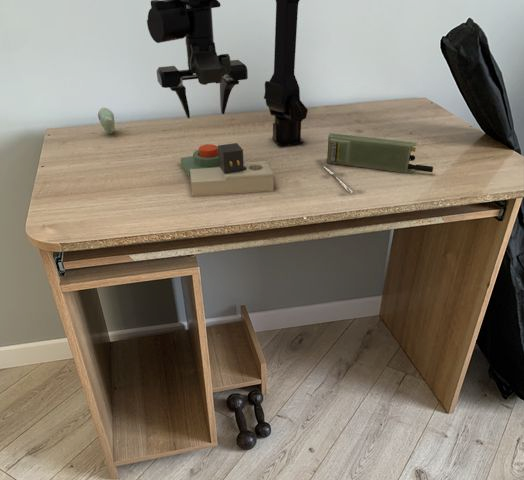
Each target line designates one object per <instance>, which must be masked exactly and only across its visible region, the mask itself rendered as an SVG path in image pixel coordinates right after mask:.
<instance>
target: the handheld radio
mask: <svg viewBox="0 0 524 480" xmlns="http://www.w3.org/2000/svg"><path fill="white" fill-rule="evenodd" d="M327 138H328V139H327V153H326V154H327V155H326V163H327V164H331V165H332V164H333V165H339V166H349V167H355V168H364V169H371V170H380V171H388V172H393V173H394V172H396V173H404V174H411V173H412V172H413V171H417V172H418V171H419V172H426V173H433V171H434V166H432V165H423V164H412V163H410V162H414V161H415V160H416V155H414V154H412V152H413V153H414V152H416V151H417V148H416V146H417V145H418V142H416V141H415V142H414V141H406V140H398V139H390V138H389V139H388V138H378V137H371V136H369V137H368V136H361V135H360V136H359V135H351V134H344V133H343V134H342V133H332V132H330V133H329V134H328V137H327Z"/></svg>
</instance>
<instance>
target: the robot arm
mask: <svg viewBox="0 0 524 480" xmlns="http://www.w3.org/2000/svg"><path fill="white" fill-rule="evenodd" d="M300 1H301V0H275V27H274V29H275V30H274V56H273V57H274V60H273V74H272V76H271V77H270V79H269V80H266V81H264V96H263V99H264V100H265V105H266V107H268V110H269V114H270V116H273V117H274V122H273V123H272V140H273V141H274V142H275V144H277V145H278V146H279V147H286V146H295V145H301V144H304V140H303V139H302V138H301V135H302V122H303V120H306V118H307V115H308V112H309V110H308V108H307V106H306V105H305V104H304V103H303V102H302V101H301V95H300V94H301V93H300V92H301V91H300V86H299V82H298V80H297V78H296V75H295V69H296V67H295V66H296V47H297V32H298V30H297V29H298V13H299V3H300ZM220 7H221V2H220V1H219V0H150V9H149V10H148V13H147V19H146V25H147V29H148V33H149V35H150V37H151V39H152V40H153V41H154V42H155V43H156V44H161V43H166V42H170V41H176V40H183V39H184V40H185V47H186V58H187V68H188V69H178V68H177V67H176V66H175V65H169V66H158V68H157V70H156V78H157V82H158V84H159V85H160V86H161V87H162V88H163V89H167V88H169V90H171V91H172V92H175V93H176V95H177V98H178V99H179V102H180V104H181V106H182V109H183V111H184V114H185V115H186V118H187V119H190V118H191V116H190V115H191V114H190V107H189V102H188V98H187V97H188V96H187V89H186V87H185V85H184V84H183V81H188V80H189V81H190V80H197V82H198V83H199V84H200V85H203V86H205V85H208V84H219V104H220V113H221V115H225V112H226V110H227V105H228V102H229V98H230V95H231V92H232V90H233V88H234V87H235V86H237V85H239V84H240V81H242V80H243V81H244V80H248V78H249V77H248V75H249V74H248V67H247V65H246V64H244V62H242V61H240V59H233V60H232V59H231V57H230V54H229V53H222V54H218V53H217V51H216V43H215V40H214V39H215V38H214V25H213V10H212V9H216V8H220Z"/></svg>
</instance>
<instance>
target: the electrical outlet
mask: <svg viewBox="0 0 524 480" xmlns="http://www.w3.org/2000/svg"><path fill="white" fill-rule="evenodd" d="M243 163H244V171H241V172H234V173H227V174H224V172H223V171H222V170H221V168H220V167H217V168H201V169H190V176H191V179H190V185H191V195H192V197H199V196H200V197H201V196H212V195H215V196H216V195H229V194H245V193H256V192H258V193H260V192H272V191H273V192H274V190H275V189H274V188H275V178H274V177H275V173H274V171H273V168H272V165H271V163H270V161H269V160H260V161H243Z"/></svg>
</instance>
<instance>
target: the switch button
mask: <svg viewBox="0 0 524 480" xmlns="http://www.w3.org/2000/svg"><path fill="white" fill-rule="evenodd" d="M198 150H199V155H200V156H201V157H205V158H210V157H215V156H218V145H216V144H212V143H211V144H209V143H207V144H202V145H200V146H199V147H198Z"/></svg>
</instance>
